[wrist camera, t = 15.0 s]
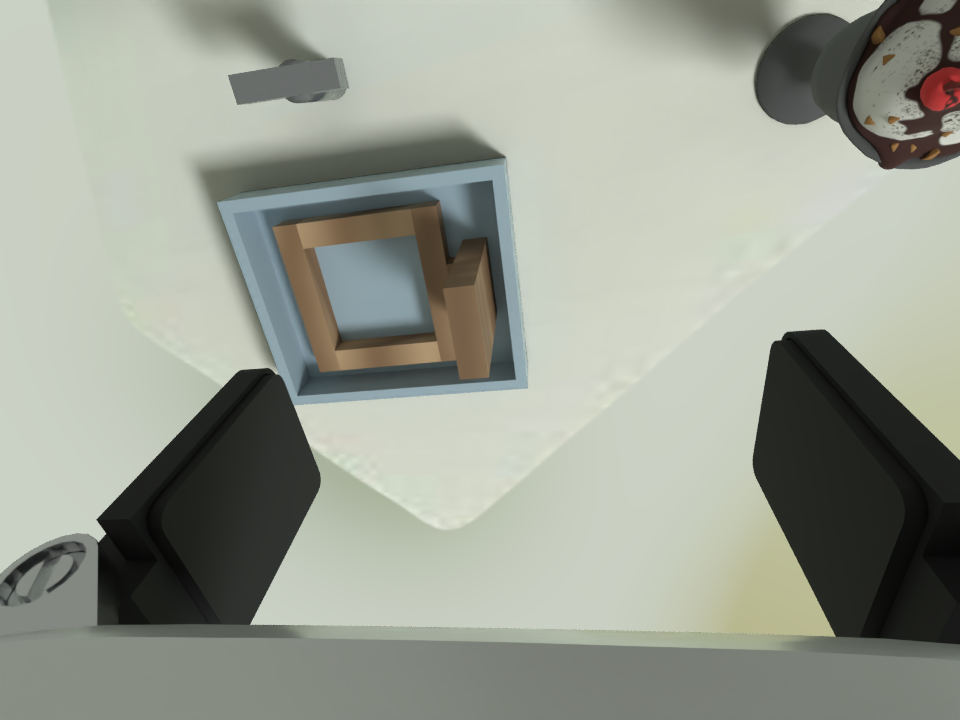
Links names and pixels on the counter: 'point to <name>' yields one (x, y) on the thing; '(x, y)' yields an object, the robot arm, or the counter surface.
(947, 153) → the sundae
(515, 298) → the tray
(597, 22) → the counter surface
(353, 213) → the ring
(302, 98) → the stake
